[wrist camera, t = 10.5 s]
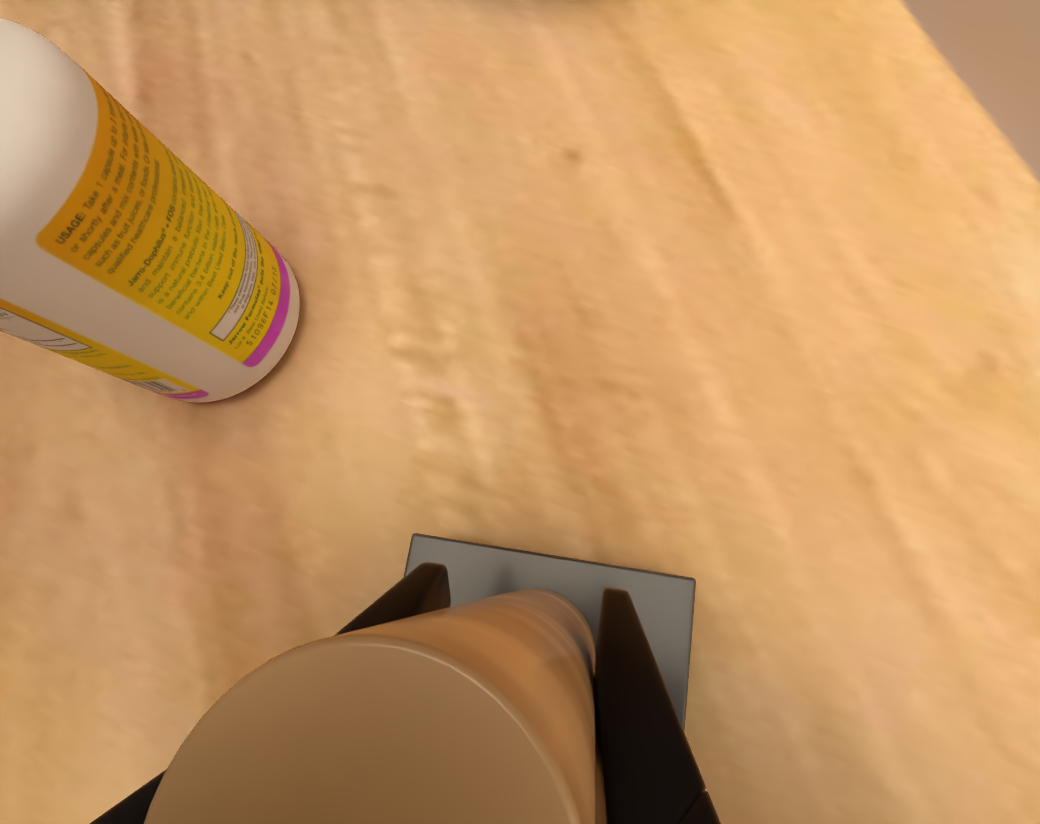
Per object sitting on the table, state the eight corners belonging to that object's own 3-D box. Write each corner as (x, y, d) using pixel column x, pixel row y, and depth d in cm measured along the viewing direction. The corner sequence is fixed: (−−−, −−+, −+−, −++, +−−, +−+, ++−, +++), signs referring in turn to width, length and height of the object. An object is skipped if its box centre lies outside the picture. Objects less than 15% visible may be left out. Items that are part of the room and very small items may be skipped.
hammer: (678, 577, 16) (1014, 603, 3) (664, 748, 15) (1078, 1815, 2) (442, 538, 17) (-13, 444, 4) (412, 695, 16) (-308, 1187, 3)
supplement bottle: (279, 218, 22) (-129, -211, 10) (331, 355, 20) (-111, 16, 8) (131, 296, 23) (-440, -36, 10) (166, 440, 20) (-505, 232, 8)
